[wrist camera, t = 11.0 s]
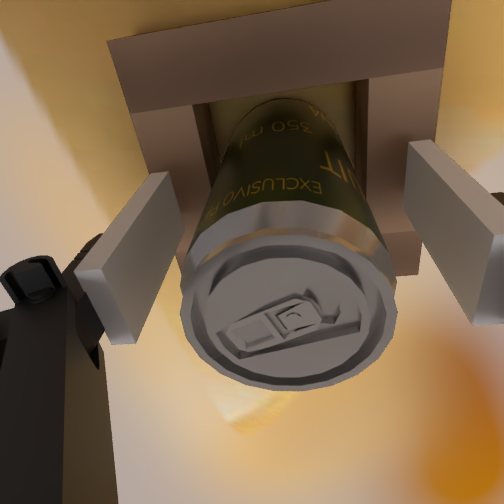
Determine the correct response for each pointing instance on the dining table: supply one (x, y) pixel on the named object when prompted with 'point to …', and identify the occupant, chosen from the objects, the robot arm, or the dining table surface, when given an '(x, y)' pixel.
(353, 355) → the beer can
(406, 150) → the holder
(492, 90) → the dining table surface
